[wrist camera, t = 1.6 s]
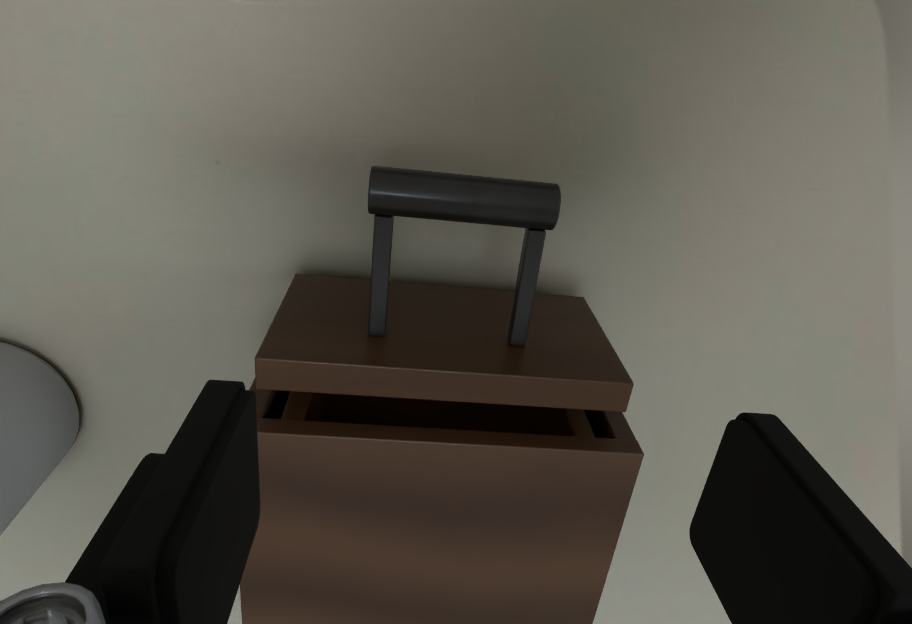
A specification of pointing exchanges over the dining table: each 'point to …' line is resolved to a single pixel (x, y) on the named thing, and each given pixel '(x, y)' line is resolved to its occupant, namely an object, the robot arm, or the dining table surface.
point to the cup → (31, 426)
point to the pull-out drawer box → (444, 329)
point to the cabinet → (433, 522)
